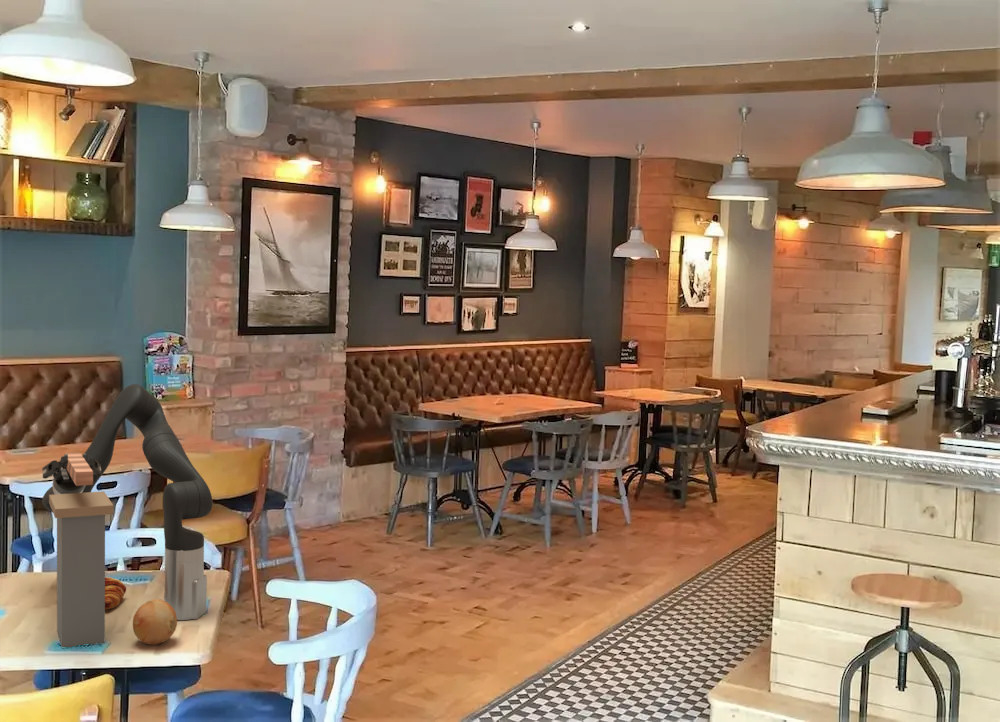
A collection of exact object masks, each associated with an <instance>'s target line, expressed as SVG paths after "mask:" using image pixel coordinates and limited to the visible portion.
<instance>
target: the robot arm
mask: <svg viewBox="0 0 1000 722" xmlns="http://www.w3.org/2000/svg"><path fill="white" fill-rule="evenodd" d="M125 420H127V421H129V422H130V423H131V424H132V425H134V426H135V427H136V428H137V429H138V430H139V432H141V434H142V437H144V438H143V440H142V445H141V446H142V447H141V448H142V452H143V455H144V456H145V459H146V461H147V462H148V465H149V466H150V467H151V469H152V470H153V471H154V472H156V473H157V474H158V475H160V476H162V477H163V478H166V479H167V480H170V481H172V482H169V483H167V484H166V485H165V487H164V489H163V494H162V495H163V496H162V510H163V511H162V513H163V535H164V597H163V598H164V600H163V601H165V602H167V603H168V604H170V605H171V606H172V607H173V609H174V611H175V613H176V617H177V621H188V620H199V618H200V617H202V616H203V615H205V612H206V613H207V605H208V604H207V603H208V602H207V601H208V600H207V595H208V594H207V593H208V591H207V590H208V589H207V588H208V587H207V586H208V576H207V574H204V573H205V572H204V570H205V569H204V568H205V566H204V565H205V561H204V560H205V558H204V557H205V536H204V533H201V532H200V531H197V530H189V529H186V528H184V527H185V526H183V523H182V521H183V520H191V519H198V518H204V517H206V516H208V515H209V514H210V513H211V511H212V508H213V496H212V493H211V490H210V488H209V485H208V484H207V482H206V481H205V479H204V478H203V477H202V476H201V474H200V473H199V472H198V470H197V469H196V468H195V467H194V465H193V463H192V462H191V460H190V459H189V457H188V455H187V454H186V451H185V449H184V448H183V446H182V444H181V442H180V440H179V438H178V437H177V435H176V434H175V432H174V430H173V429H172V427H171V426H170V425H169V423H168V421H167V418H166V415H165V413H164V409H163V406H162V404H161V403H160V400H158V398H156V397H155V396H154V395H153V394H152V393H150V392H149V391H148V390H147V389H145V388H144V387H143V386H142V385H140V384H137V383H132V384H130V385H127V386H126V387H125V388H123V389H122V390H121V391H120V393H118V394H117V397H116V398H115V399H114V402H113V403H112V406H111V407H110V409H109V410H108V412H107V414H106V415H105V417H104V420H103V421H102V423H101V425H100V427H99V429H98V431H97V433H96V435H95V436H94V438H93V440H92V441H91V443H90V444H89V446H88V447H87V449H86V451H84V453H82V454H81V455H82V457H83V458H84V459H85V460H86V462H87V463H88V465H89V466H90V468H91V469H92V471H93V485H81V486H76V485H75V483H74V481H73V480H72V478H71V476H70V474H69V472H68V471H67V469H66V468H67V464H68V454H65V453H64V454H63V455H62V456H61V457H60V459H59V461H58V460H51V461H50V462H49V463H47V464H46V465H45V466H43V467H42V479H44V480H45V479H49V478H51V477H52V476H53V480H52V486H51V487H49V488H48V489H47V490H46V491H45V493H44V494H43V496H42V501H41V503H42V505H43V507H44V508H45V509H46V510H48V511H49V512H51V513H53V511H52V509H51V507H50V504H49V495H54V494H70V493H86V492H92V490H93V488H94V487H95V486H96V484H97V482H98V481H99V480H100V478H101V477H102V475H103V474H104V472H106V471H107V469H108V467H109V465H110V464H111V461H112V459H113V454H114V450H115V442H116V439H117V435H118V431H119V429H120V427H121V426H122V424H123V422H124V421H125Z"/></svg>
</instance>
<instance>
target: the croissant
mask: <svg viewBox="0 0 1000 722" xmlns="http://www.w3.org/2000/svg"><path fill="white" fill-rule="evenodd" d="M126 592H127V586H126V585H125V584H124V582H123V581H121V580H119V579H116V578H113V577H111V576H108V577H107V576H105V611H106V610H109V609H114V608H116V607H117V606H118V605H119V604H121V602H122V601H123V598H124V596H125V594H126Z"/></svg>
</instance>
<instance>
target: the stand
mask: <svg viewBox="0 0 1000 722" xmlns="http://www.w3.org/2000/svg"><path fill="white" fill-rule="evenodd" d="M49 504H50V507H51V509H52V511H53V512H52V514H53V516H54V518H55V519H56V632H57V636H58V639H59V643H61V644H60V646H61V647H60V648H62V647H68V648H73V647H72V646H76V647H78V646H77V645H84V644H92V645H97V644H96V643H100V644H105V643H104V642H106V640H105V637H106V633H105V631H106V630H105V628H106V627H105V626H106V623H105V622H106V617H105V616H106V614H105V613H106V610H105V577H106V515H114V504H113V503H112V501H111V500H110V498H109V496H108V495H107V493H106V492H105V491H91V492H86V493H70V494H54V495H49ZM84 646H85V645H84Z"/></svg>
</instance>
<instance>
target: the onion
mask: <svg viewBox="0 0 1000 722" xmlns="http://www.w3.org/2000/svg"><path fill="white" fill-rule="evenodd" d="M177 626H178V620H177V617H176V613H175V611H174V609H173V607H172V606H171V605H170V604H168V603H167V602H165V600H163V599H158V598H155V599H150V600H148V601H146V602H145V603H143V604H141V605H140V606H139V607H138V608H137V610H135V613H134V615H133V618H132V630H133V633H134V635H135V636H136V638H137V639H138V640H139V641H141V643H143V644H144V643H145V644H148V645H154V646H155V645H158V644H161V643H164V642H165V641H167V640H170V638H171V637H172V636H173V635H174V633H175V632H176V631H177Z"/></svg>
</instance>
